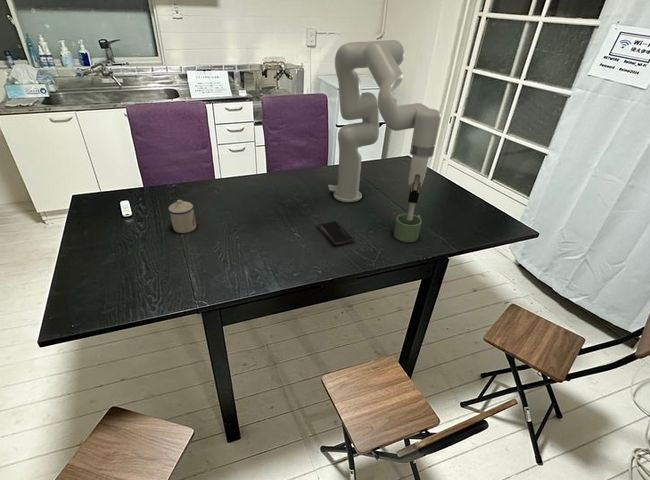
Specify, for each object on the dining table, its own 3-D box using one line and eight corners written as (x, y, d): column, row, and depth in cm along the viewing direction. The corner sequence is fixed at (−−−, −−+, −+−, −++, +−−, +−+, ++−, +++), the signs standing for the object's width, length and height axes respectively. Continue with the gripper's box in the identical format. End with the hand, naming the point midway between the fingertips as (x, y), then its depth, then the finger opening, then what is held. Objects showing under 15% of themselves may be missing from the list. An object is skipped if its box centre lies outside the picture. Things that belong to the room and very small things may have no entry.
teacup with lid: (199, 230, 146) (194, 202, 139) (175, 236, 142) (169, 208, 135) (192, 217, 154) (186, 190, 147) (169, 222, 151) (162, 195, 144)
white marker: (406, 220, 139) (413, 183, 131) (406, 217, 141) (413, 180, 132) (412, 221, 139) (419, 183, 130) (412, 218, 140) (419, 181, 132)
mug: (409, 245, 139) (412, 228, 135) (388, 235, 144) (391, 219, 140) (427, 233, 146) (430, 217, 141) (407, 224, 151) (410, 208, 147)
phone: (334, 243, 137) (318, 224, 148) (333, 246, 137) (318, 226, 148) (353, 239, 139) (336, 220, 150) (353, 242, 140) (336, 223, 151)
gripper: (412, 141, 131) (403, 190, 142) (408, 156, 119) (400, 209, 130) (434, 143, 130) (424, 193, 141) (433, 159, 117) (422, 212, 128)
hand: (412, 200), depth 135 cm, fingers closed on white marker, 2 cm apart
